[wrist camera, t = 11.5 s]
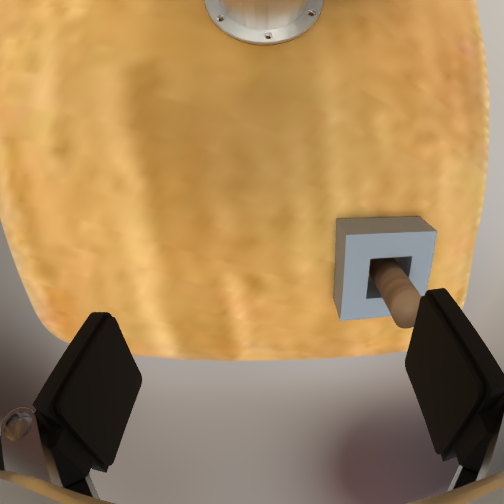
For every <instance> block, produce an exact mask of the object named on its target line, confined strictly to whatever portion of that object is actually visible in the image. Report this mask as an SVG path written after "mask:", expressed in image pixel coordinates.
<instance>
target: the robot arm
mask: <svg viewBox="0 0 504 504" xmlns="http://www.w3.org/2000/svg"><path fill="white" fill-rule="evenodd" d="M205 5H206V9H207V11H208V14H209V16H210V17H211V19H212V20H213V22H214V23H215V24H216V25H217V26H218V27H219V28H220V30H222V31H223V32H225V33H226V34H227V35H229V36H231V37H233V38H235V39H237V40H240V41H243V42H246V43H250V44H258V45H273V44H278V43H284V42H287V41H290V40H293V39H295V38H297V37H298V36H300V35H302V34H304V33H305V32H306V31H307V30H308V29H310V28H311V27H312V25H313V24H314V23H315V22H316V20H317V19H318V17H319V15H320V12H321V10H322V7H323V0H205ZM309 14H313V16H309ZM221 18H222V19H224V20H223V21H221V22H220V21H219V20H220V19H221ZM267 36H270V37H271V39H270V40H267V39H266V37H267ZM405 367H406V371H407V373H408V376H409V378H410V381H411V384H412V386H413V389H414V392H415V394H416V397H417V399H418V402H419V405H420V408H421V410H422V413H423V416H424V419H425V422H426V425H427V428H428V430H429V434H430V437H431V440H432V442H433V446H434V448H435V451H436V453H437V454H441V456H442V459H443V461H446V460H449V459H452V458H455V457H457V459H458V462H459V467H458V470H457V472H456V474H455V476H454V478H453V481H452V483H451V485H450V487H449V489H448V491H447V492H445V493H442V494H439V495H435V496H432V497H429V498H426V499H422V500H418V501H415V502H412V503H408V504H504V373H503V372H502V370H501V368H500V367H499V365H498V364H497V362H496V360H495V359H494V357H493V356H492V354H491V352H490V351H489V349H488V348H487V346H486V345H485V343H484V342H483V340H482V339H481V337H480V336H479V334H478V333H477V331H476V330H475V328H474V327H473V326H472V324H471V323H470V321H469V320H468V319H467V317H466V316H465V314H464V313H463V311H462V310H461V309H460V307H459V306H458V305H457V303H456V302H455V301H454V299H453V298H452V297H451V295H450V294H449V293H448V291H447V290H446V289H445V288H440V289H433V290H428V291H426V293H425V296H422V297H421V298H420V302H419V307H418V311H417V316H416V320H415V324H414V328H413V332H412V336H411V340H410V344H409V348H408V352H407V355H406V359H405ZM141 383H142V376H141V373H140V371H139V369H138V367H137V365H136V363H135V361H134V359H133V357H132V354H131V352H130V350H129V348H128V346H127V344H126V341H125V339H124V337H123V334H122V332H121V330H120V328H119V325H118V323H117V321H116V319H115V318H114V317H112V316H111V314H110V313H107V312H93V313H91V314H90V315H89V317H88V318H87V319H86V321H85V322H84V324H83V325H82V327H81V328H80V330H79V331H78V333H77V334H76V336H75V337H74V339H73V340H72V342H71V343H70V345H69V346H68V348H67V349H66V351H65V352H64V354H63V356H62V357H61V359H60V360H59V362H58V363H57V365H56V366H55V368H54V370H53V371H52V373H51V375H50V376H49V378H48V380H47V381H46V383H45V384H44V386H43V388H42V389H41V391H40V393H39V395H38V396H37V398H36V400H35V401H34V403H33V406H34V407H35V408H36V412H35V413H33V412H32V411H31V410H30V409H28V408H18V409H15V410H13V411H12V412H10V413H9V414H8V415H7V416H6V417H5V419H4V420H3V422H2V425H1V431H0V434H1V435H0V504H114V503H110V502H107V501H103V500H100V498H99V496H98V493H97V491H96V489H95V487H94V484H93V482H92V480H91V477H90V475H89V472H90V469H91V468H92V469H94V470H98V471H102V472H107V469H108V466H110V465H112V464H113V462H114V460H115V457H116V454H117V451H118V448H119V445H120V442H121V439H122V436H123V433H124V430H125V427H126V424H127V422H128V419H129V417H130V414H131V411H132V408H133V405H134V403H135V400H136V397H137V395H138V392H139V389H140V387H141Z"/></svg>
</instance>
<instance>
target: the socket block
mask: <svg viewBox="0 0 504 504" xmlns="http://www.w3.org/2000/svg"><path fill="white" fill-rule="evenodd" d="M436 237H437V231H436V230H435V229H434V228H433V227H432V226H430V225H429V224H428V223H427V222H426V221H424V220H423V219H422V218H421V217H420V216H412V217H374V218H345V219H336V255H335V277H334V295H333V299H334V302H335V305H336V309H337V312H338V315H339V319H340V321H345V320H357V319H367V318H377V317H387V316H392V315H391V313H390V312H389V310H388V308H387V306H386V304H385V302H384V300H383V298H382V296H381V294H380V292H379V290H378V289H377V287H376V285H375V283H374V281H373V279H372V277H369V267H370V259H375V258H391V257H395V260H396V261H397V263H398V264H399V266H400V267H401V268H402V270H403V271H404V272H405V274H406V275H407V277H408V278H409V279H410V281H411V282H412V284H413V285H414V286H415V288H416V289H417V291H418V292H419V293H420V295H421V296H425V293H426V291H427V287H428V282H429V277H430V272H431V267H432V261H433V255H434V249H435V243H436Z"/></svg>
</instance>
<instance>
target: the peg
mask: <svg viewBox="0 0 504 504" xmlns="http://www.w3.org/2000/svg"><path fill="white" fill-rule="evenodd" d="M369 274H370V276H371V277H372V279H373V281H374V283H375V285H376V287H377V289H378V290H379V292H380V294H381V296H382V298H383V300H384V302H385V304H386V306H387V308H388V310H389V312H390V313H391V315H392V317H393V319H394V321H395V323H396V325H397V326H398V327H400V328H411V327H414V324H415V320H416V316H417V311H418V307H419V302H420V298H421V297H422V296H421V295H420V293H419V292H418V291H417V289H416V288H415V286H414V285H413V284H412V282H411V281H410V279H409V278H408V277H407V275H406V274H405V272H404V271H403V270H402V268H401V267H400V266H399V264H398V263H397V261H396V260H395V259H394V257H391V258H375V259H370V267H369Z"/></svg>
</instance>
